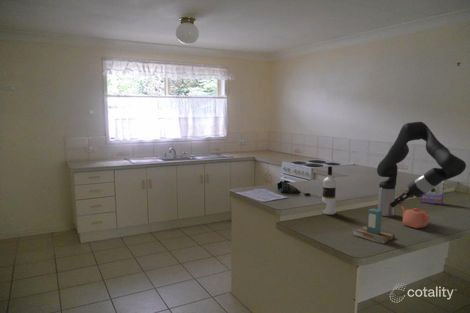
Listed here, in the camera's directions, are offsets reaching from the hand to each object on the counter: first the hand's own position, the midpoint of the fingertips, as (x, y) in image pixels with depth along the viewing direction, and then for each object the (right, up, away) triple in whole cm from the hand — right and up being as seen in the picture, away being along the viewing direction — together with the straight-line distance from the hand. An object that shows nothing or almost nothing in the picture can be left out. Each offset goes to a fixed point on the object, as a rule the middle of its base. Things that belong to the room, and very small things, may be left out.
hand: (394, 204), depth 170 cm
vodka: (-20, -13, +49) cm, 54 cm away
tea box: (-8, -16, +7) cm, 19 cm away
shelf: (-7, -18, +8) cm, 21 cm away
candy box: (+62, -10, +76) cm, 98 cm away
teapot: (+23, -16, +26) cm, 38 cm away
